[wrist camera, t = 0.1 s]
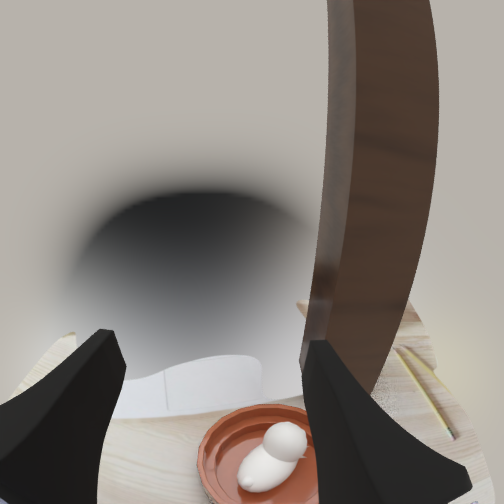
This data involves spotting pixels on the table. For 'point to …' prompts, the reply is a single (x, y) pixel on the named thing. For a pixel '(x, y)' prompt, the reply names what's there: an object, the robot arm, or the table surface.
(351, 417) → the robot arm
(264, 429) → the bowl
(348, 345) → the taupe notched tower
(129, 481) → the table surface
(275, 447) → the toy creature
